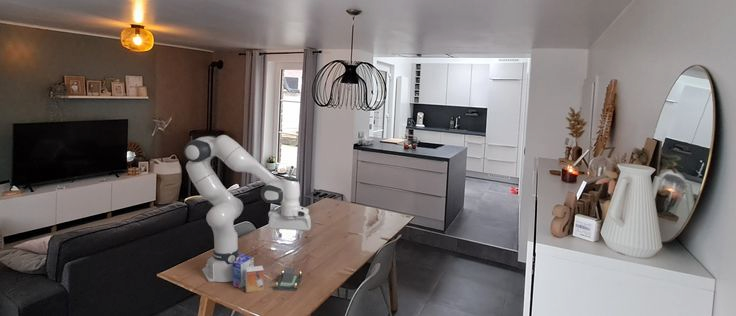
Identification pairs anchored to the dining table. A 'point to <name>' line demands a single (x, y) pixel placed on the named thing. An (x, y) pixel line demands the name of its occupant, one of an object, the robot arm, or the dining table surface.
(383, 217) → the dining table surface
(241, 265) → the ink cartridge box
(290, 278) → the circuit board
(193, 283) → the dining table surface
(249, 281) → the small box
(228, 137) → the robot arm
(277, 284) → the chassis plate
